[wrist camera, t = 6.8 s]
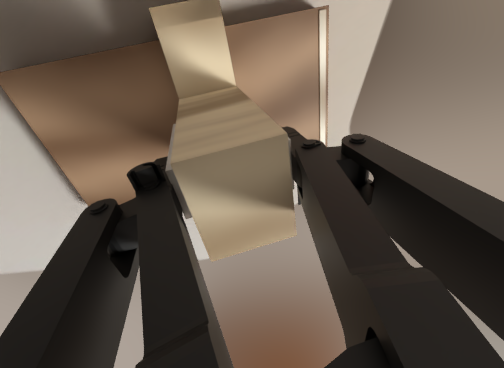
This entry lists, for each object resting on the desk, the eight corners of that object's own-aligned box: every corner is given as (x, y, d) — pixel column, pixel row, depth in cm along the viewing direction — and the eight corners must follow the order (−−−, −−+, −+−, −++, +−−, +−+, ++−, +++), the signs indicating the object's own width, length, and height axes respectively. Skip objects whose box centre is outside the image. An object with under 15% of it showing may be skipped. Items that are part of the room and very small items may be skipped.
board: (12, 70, 16) (-10, 74, 14) (315, 8, 18) (329, 4, 16) (104, 206, 22) (97, 220, 21) (317, 148, 25) (327, 156, 23)
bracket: (155, 13, 16) (80, -50, 5) (213, 2, 16) (268, -80, 5) (205, 166, 22) (222, 287, 11) (245, 156, 23) (299, 262, 12)
